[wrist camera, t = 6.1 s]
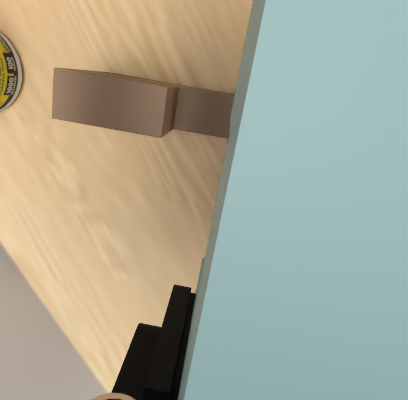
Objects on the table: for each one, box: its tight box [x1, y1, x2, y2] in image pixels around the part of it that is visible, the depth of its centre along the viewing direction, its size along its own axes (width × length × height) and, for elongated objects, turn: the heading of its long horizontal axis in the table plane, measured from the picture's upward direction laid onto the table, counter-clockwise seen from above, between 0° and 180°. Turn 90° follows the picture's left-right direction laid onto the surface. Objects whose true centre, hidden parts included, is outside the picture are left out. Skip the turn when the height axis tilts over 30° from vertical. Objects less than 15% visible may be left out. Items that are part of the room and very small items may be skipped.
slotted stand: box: [52, 68, 235, 139], centre depth 22 cm, size 16×2×8 cm, turn 81°
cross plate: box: [178, 0, 408, 400], centre depth 7 cm, size 16×2×8 cm, turn 170°
